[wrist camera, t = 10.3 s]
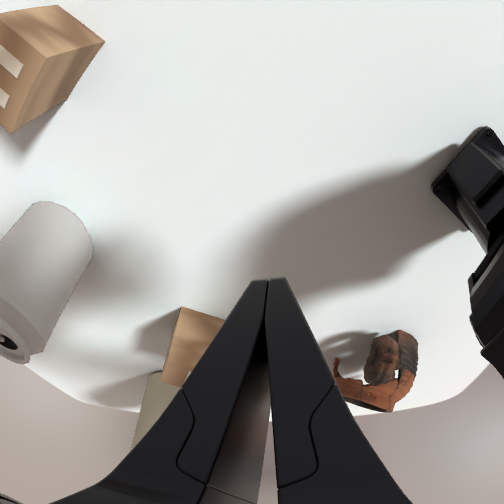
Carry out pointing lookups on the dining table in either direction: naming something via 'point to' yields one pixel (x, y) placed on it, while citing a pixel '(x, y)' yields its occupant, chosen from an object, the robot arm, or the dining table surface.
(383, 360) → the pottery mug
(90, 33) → the marked block 1
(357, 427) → the robot arm
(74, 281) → the can
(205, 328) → the marked block 2
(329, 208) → the dining table surface
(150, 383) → the travel mug
